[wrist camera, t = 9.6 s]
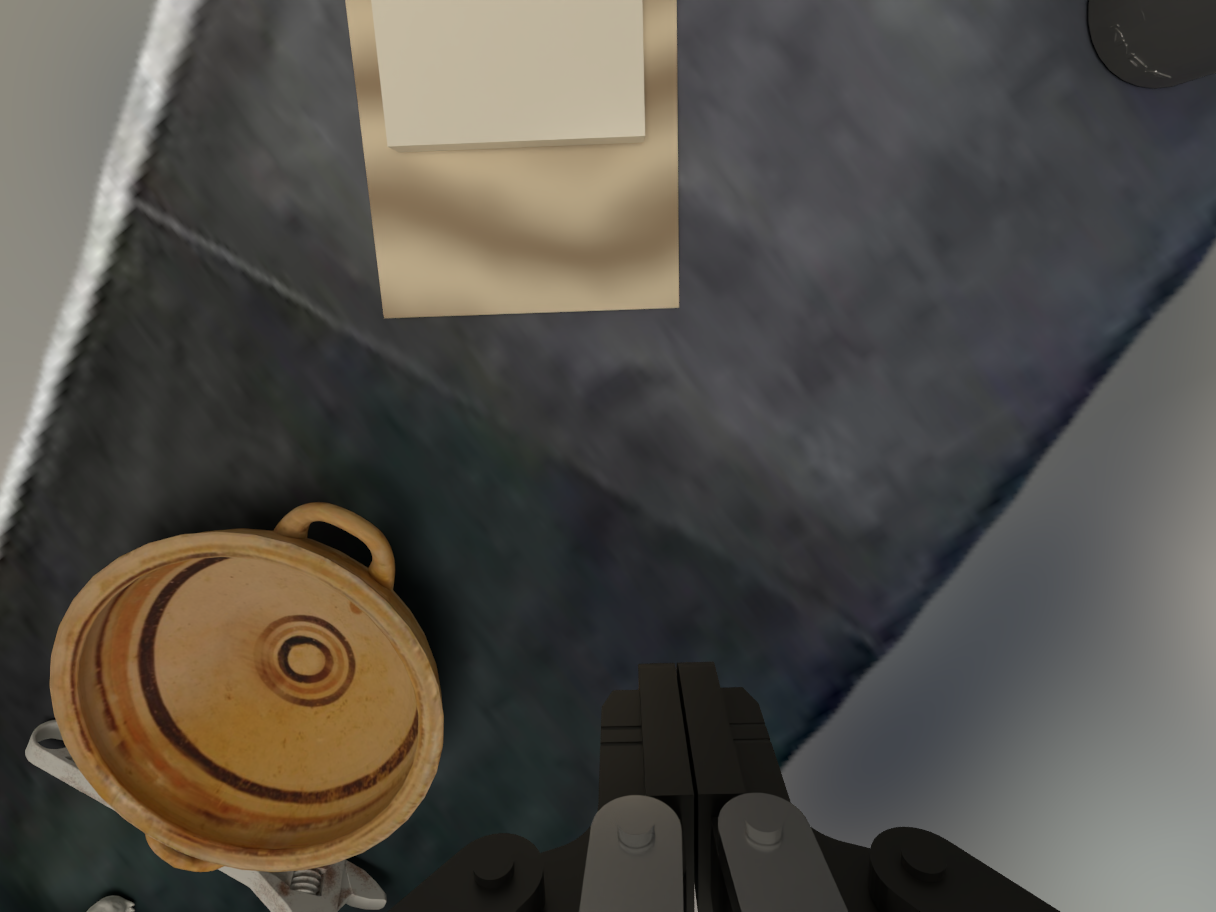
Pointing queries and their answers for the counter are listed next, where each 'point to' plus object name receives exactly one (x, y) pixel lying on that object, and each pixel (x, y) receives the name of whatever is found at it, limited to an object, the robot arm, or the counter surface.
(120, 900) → the toy dinosaur
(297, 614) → the ceramic bowl
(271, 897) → the wrench
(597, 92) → the tile
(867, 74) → the counter surface
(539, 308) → the board
